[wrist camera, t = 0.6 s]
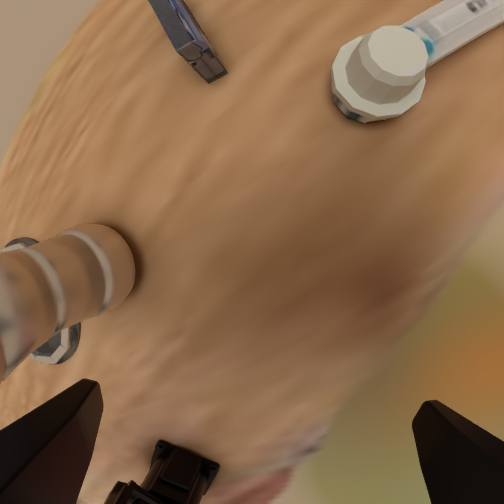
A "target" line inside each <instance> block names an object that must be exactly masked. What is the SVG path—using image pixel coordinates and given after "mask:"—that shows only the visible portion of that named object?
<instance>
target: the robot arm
mask: <svg viewBox="0 0 504 504" xmlns="http://www.w3.org/2000/svg"><path fill="white" fill-rule="evenodd" d="M102 413H103V399H102V394H101V389H100V385H99V383H98V382H97V381H94V380H90V379H82V380H80V381H78V382H77V383H75V384H74V385H72V386H71V387H69V388H67V389H66V390H64V391H63V392H61V393H59V394H58V395H56V396H55V397H53V398H52V399H50V400H48V401H47V402H45V403H44V404H42V405H40V406H39V407H37V408H36V409H34V410H32V411H31V412H29V413H28V414H26V415H24V416H23V417H21V418H20V419H18V420H16V421H15V422H13V423H12V424H10V425H8V426H7V427H5V428H3V429H2V430H0V504H76V501H77V498H78V495H79V492H80V490H81V487H82V484H83V481H84V478H85V475H86V472H87V470H88V467H89V464H90V461H91V458H92V454H93V450H94V446H95V441H96V437H97V433H98V429H99V425H100V421H101V417H102ZM412 429H413V433H414V438H415V442H416V447H417V452H418V457H419V462H420V466H421V470H422V473H423V477H424V480H425V483H426V486H427V490H428V493H429V497H430V500H431V504H504V441H502V440H500V439H499V438H497V437H495V436H493V435H492V434H491V433H489V432H487V431H486V430H484V429H482V428H481V427H479V426H478V425H476V424H474V423H473V422H471V421H470V420H468V419H466V418H465V417H463V416H462V415H460V414H458V413H457V412H455V411H453V410H452V409H450V408H449V407H447V406H446V405H444V404H442V403H441V402H439V401H438V400H429V401H425V402H424V403H423V404H422V405H421V407H420V409H419V410H418V412H417V414H416V416H415V417H414V419H413V421H412ZM219 468H220V466H219V465H218V464H216V463H214V462H211V461H209V460H206V459H203V458H201V457H198V456H196V455H193V454H191V453H189V452H186V451H184V450H182V449H179V448H177V447H175V446H172V445H170V444H168V443H166V442H164V441H160V440H159V441H158V442H157V444H156V446H155V450H154V454H153V458H152V462H151V466H150V470H149V472H148V474H147V476H146V477H145V479H144V481H143V483H142V484H141V486H139V485H137V484H136V482H134V481H133V480H131V481H130V482H128V483H123V482H120V481H118V482H117V483H116V484H115V486H114V487H113V489H112V490H111V492H110V493H109V495H108V497H107V498H106V500H105V502H104V504H199V503H200V501H201V498H202V496H203V495H205V494H206V492H207V490H208V488H209V487H210V485H211V483H212V481H213V480H214V478H215V476H216V474H217V472H218V471H219Z"/></svg>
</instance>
